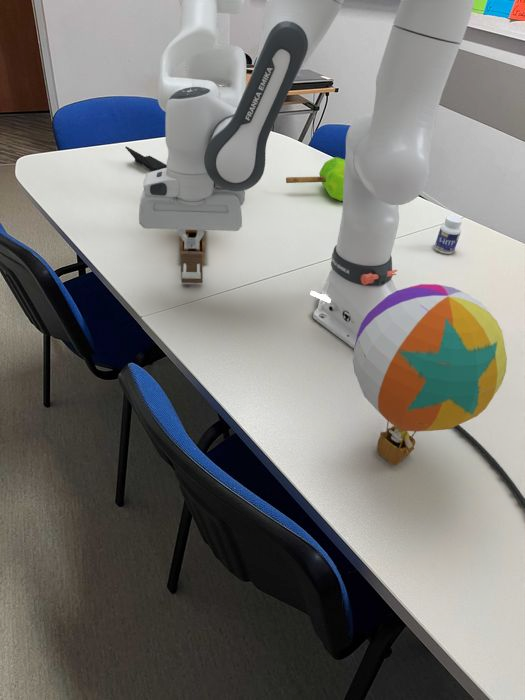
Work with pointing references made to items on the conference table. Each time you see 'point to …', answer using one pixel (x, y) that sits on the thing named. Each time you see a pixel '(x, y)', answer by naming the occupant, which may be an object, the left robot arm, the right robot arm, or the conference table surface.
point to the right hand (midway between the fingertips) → (191, 247)
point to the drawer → (191, 263)
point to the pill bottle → (448, 235)
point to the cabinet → (202, 245)
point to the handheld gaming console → (147, 161)
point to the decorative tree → (327, 177)
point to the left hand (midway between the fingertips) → (193, 217)
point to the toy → (427, 362)
